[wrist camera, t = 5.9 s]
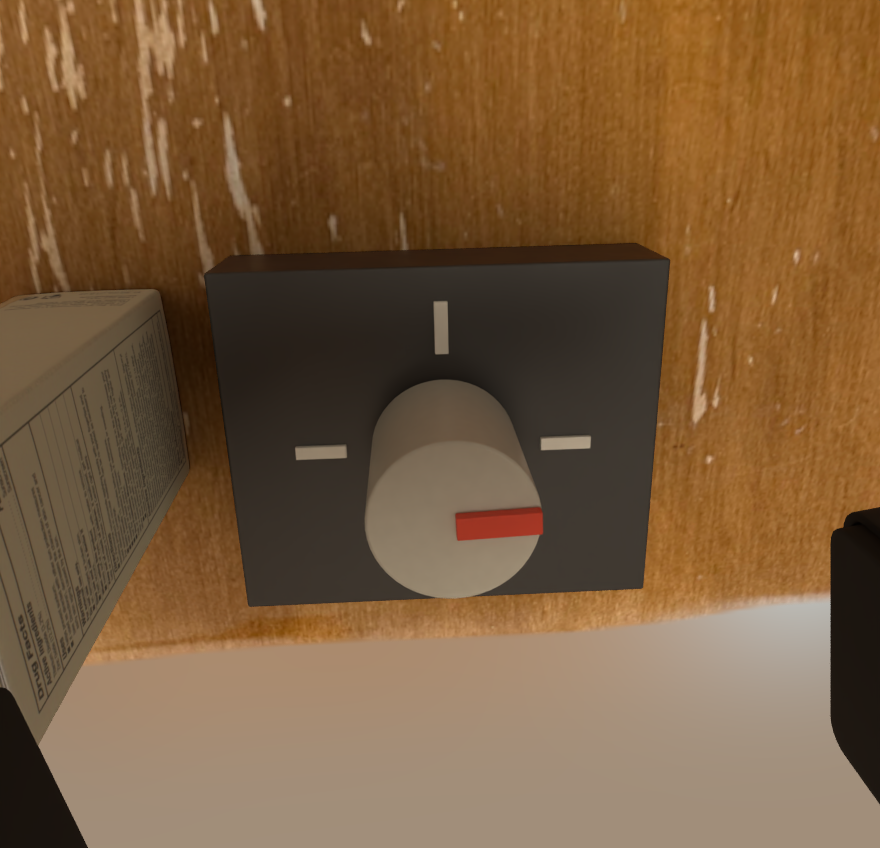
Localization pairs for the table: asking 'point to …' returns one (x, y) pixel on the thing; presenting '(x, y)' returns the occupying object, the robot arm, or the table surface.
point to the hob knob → (449, 492)
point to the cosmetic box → (78, 475)
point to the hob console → (426, 359)
